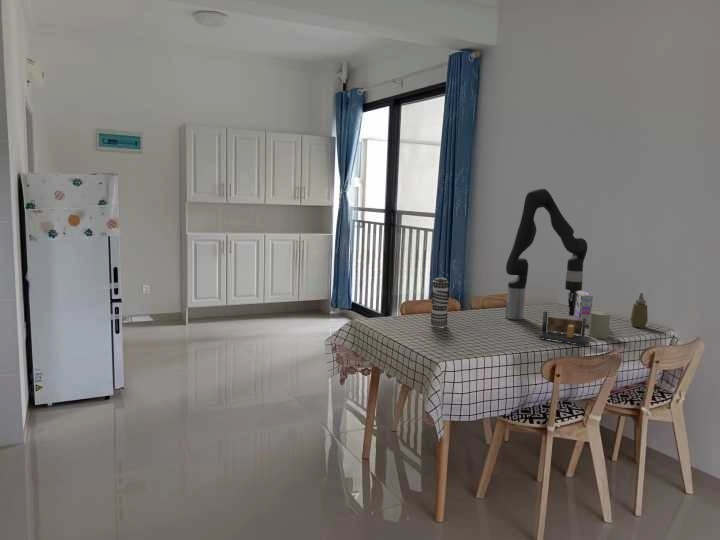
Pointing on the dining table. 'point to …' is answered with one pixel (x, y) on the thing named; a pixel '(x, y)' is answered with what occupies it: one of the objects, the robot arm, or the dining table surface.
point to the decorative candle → (439, 302)
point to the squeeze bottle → (639, 312)
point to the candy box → (583, 307)
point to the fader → (570, 331)
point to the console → (564, 338)
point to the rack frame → (558, 332)
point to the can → (599, 324)
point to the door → (563, 325)
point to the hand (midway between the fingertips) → (571, 315)
